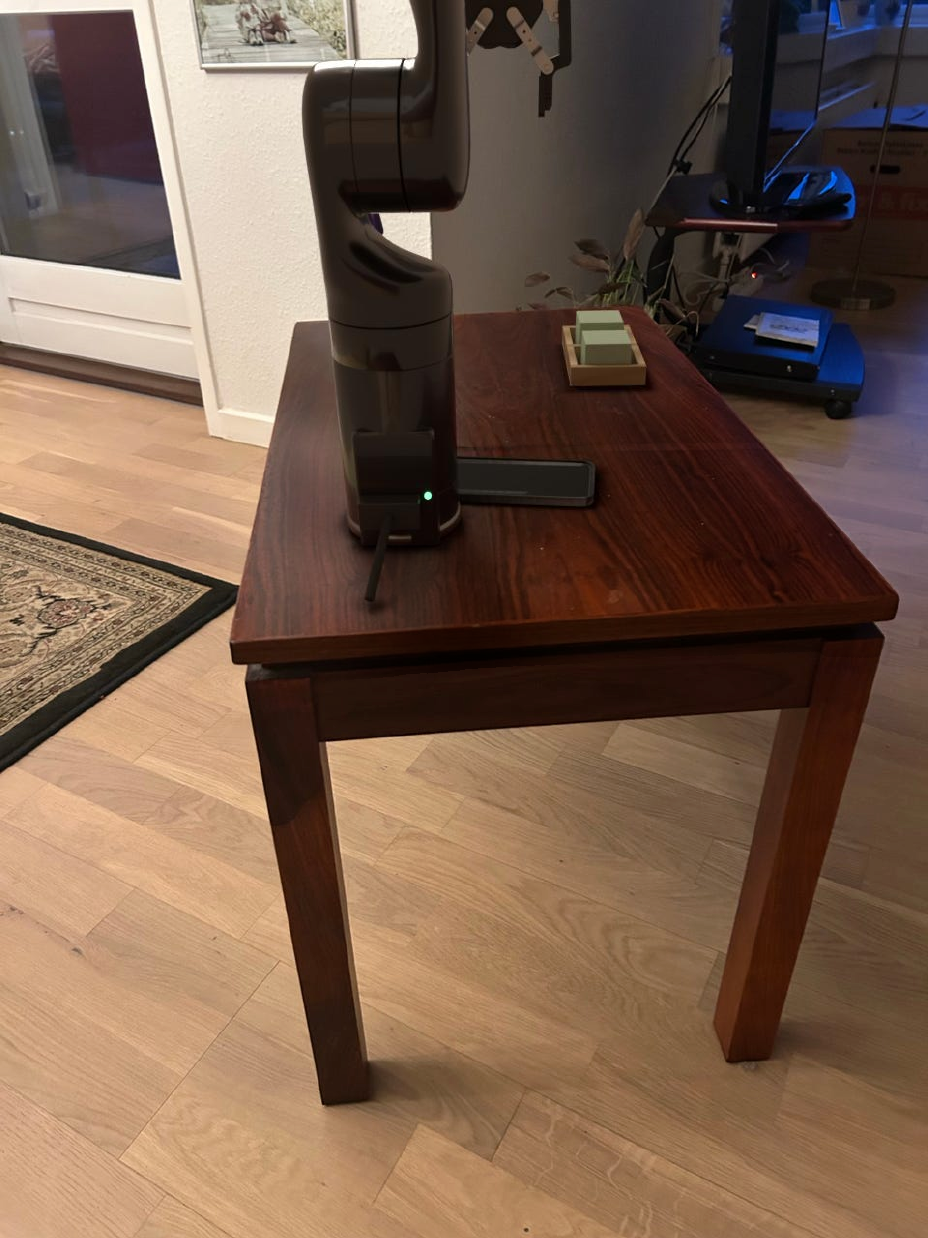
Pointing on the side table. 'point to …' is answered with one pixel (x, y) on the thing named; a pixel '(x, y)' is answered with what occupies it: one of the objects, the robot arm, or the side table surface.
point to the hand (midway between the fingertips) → (499, 117)
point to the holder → (602, 373)
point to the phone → (526, 481)
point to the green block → (597, 322)
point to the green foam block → (605, 347)
